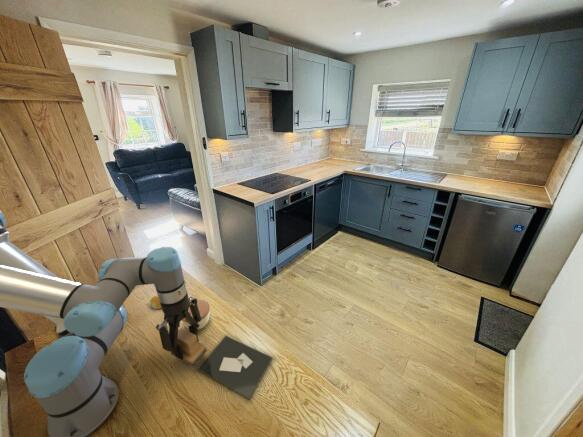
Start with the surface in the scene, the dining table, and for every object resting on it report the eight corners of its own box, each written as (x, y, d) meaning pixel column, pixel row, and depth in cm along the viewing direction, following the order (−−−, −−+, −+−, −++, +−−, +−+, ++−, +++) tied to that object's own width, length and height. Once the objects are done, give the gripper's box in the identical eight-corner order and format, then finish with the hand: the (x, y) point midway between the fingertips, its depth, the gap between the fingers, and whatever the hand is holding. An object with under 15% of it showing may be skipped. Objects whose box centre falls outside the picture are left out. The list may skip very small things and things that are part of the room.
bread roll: (177, 299, 107) (175, 292, 105) (157, 312, 100) (155, 305, 98) (167, 292, 111) (165, 285, 109) (147, 303, 104) (145, 296, 102)
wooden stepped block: (171, 354, 80) (165, 336, 76) (185, 340, 85) (180, 323, 81) (193, 366, 76) (188, 349, 72) (206, 351, 81) (202, 333, 77)
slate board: (198, 370, 78) (197, 369, 77) (226, 337, 89) (225, 335, 89) (249, 399, 70) (249, 398, 70) (272, 359, 82) (272, 357, 81)
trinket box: (216, 314, 99) (213, 297, 95) (205, 336, 89) (201, 318, 85) (191, 312, 100) (187, 295, 96) (178, 334, 90) (173, 316, 86)
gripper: (153, 324, 61) (171, 380, 70) (206, 280, 76) (215, 331, 86) (134, 314, 64) (154, 369, 73) (189, 274, 79) (200, 324, 89)
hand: (187, 348), depth 80 cm, fingers closed on wooden stepped block, 6 cm apart
